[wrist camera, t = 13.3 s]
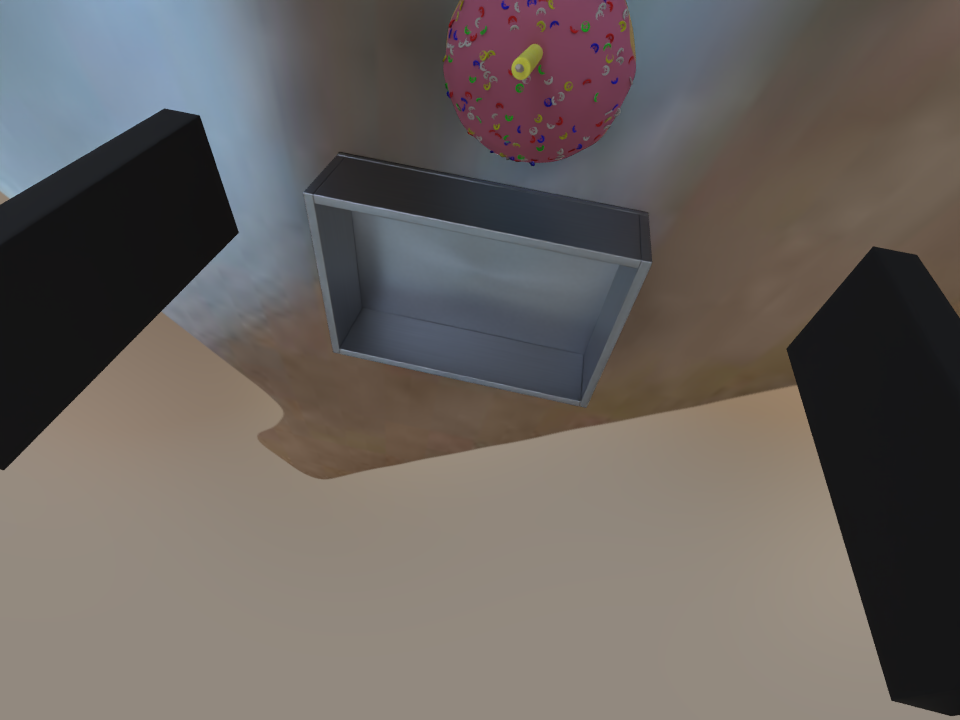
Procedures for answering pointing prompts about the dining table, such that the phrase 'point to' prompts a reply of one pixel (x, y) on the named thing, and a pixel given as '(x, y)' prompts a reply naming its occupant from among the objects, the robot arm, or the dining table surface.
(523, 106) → the cupcake
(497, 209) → the open rectangular bin
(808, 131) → the dining table surface
